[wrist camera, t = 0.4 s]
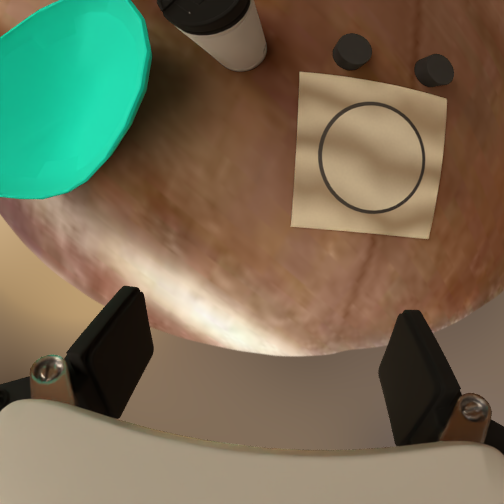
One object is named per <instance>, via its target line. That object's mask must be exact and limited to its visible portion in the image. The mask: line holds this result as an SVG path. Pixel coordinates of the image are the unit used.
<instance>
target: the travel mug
mask: <svg viewBox="0 0 504 504" xmlns="http://www.w3.org/2000/svg"><path fill="white" fill-rule="evenodd" d="M157 4H158V6H159V7H160V9H161V11H162V12H163V15H164V17H165V18H166V19H167V20H168V21H170V22H171V23H172V24H174V25H175V26H176V27H177V28H178V29H179V30H180V31H182V32H183V33H184V34H185V35H187V36H188V37H189V38H190V39H192V40H193V41H194V42H195V43H197V44H198V45H199V46H200V47H202V48H203V49H204V50H205V51H207V52H208V53H209V54H210V55H211V56H213V57H214V58H215V59H216V60H217V61H218V62H220V63H221V64H222V65H223V66H224V67H226V68H228V69H230V70H232V71H238V72H243V71H248V70H251V69H253V68H255V67H257V66H258V65H259V64H260V63H261V62H262V61H263V60H264V58H265V56H266V53H267V44H266V41H265V37H264V33H263V30H262V26H261V23H260V20H259V16H258V13H257V9H256V6H255V3H254V0H157Z"/></svg>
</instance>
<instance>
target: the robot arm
mask: <svg viewBox="0 0 504 504" xmlns="http://www.w3.org/2000/svg"><path fill="white" fill-rule="evenodd" d="M153 350H154V347H153V342H152V337H151V332H150V326H149V321H148V315H147V310H146V304H145V298H144V294H143V292H140V290H139V288H137V287H130V286H123V287H122V288H121V289H120V290H119V291H118V292H117V293H116V295H115V296H114V297H113V298H112V299H111V300H110V301H109V302H108V304H107V305H106V306H105V307H104V308H103V310H101V312H100V313H99V314H98V315H97V316H96V318H95V319H94V320H93V321H92V322H91V323H90V325H89V326H88V327H87V328H86V329H85V330H84V332H83V333H82V334H81V335H80V337H79V338H78V339H77V340H76V341H75V343H74V344H73V345H72V346H71V347H70V349H69V350H68V351H67V356H66V357H65V358H64V359H63V358H62V357H60V356H57V355H47V356H44V357H41V358H40V359H38V360H37V361H36V362H35V363H34V364H33V365H32V367H31V369H30V376H29V377H25V378H22V379H18V380H15V381H11V382H8V383H4V384H0V504H504V427H503V426H502V425H500V424H498V423H496V422H495V421H493V420H491V414H492V411H491V407H490V405H489V403H488V402H487V401H486V400H485V399H484V398H483V397H481V396H480V395H478V394H474V393H467V394H464V395H462V394H461V392H460V389H461V388H460V386H459V384H458V382H457V380H456V378H455V376H454V374H453V371H452V369H451V367H450V365H449V363H448V361H447V359H446V357H445V356H444V354H443V352H442V350H441V348H440V346H439V344H438V342H437V340H436V338H435V337H434V335H433V333H432V331H431V329H430V327H429V326H428V324H427V322H426V320H425V319H424V317H423V315H422V313H421V312H420V311H419V310H404V312H403V313H402V314H399V315H398V318H397V321H396V324H395V327H394V329H393V332H392V335H391V338H390V341H389V343H388V346H387V349H386V351H385V354H384V356H383V359H382V361H381V364H380V367H379V378H380V382H381V386H382V390H383V394H384V398H385V402H386V406H387V410H388V414H389V418H390V423H391V427H392V432H393V436H394V441H395V444H396V447H385V448H371V449H353V450H297V449H277V448H265V447H254V446H245V445H237V444H229V443H222V442H215V441H209V440H203V439H197V438H192V437H187V436H182V435H177V434H172V433H168V432H164V431H160V430H155V429H151V428H147V427H144V426H140V425H136V424H132V423H129V422H125V421H122V420H118V418H120V416H121V415H122V412H123V411H124V409H125V406H126V405H127V402H128V401H129V399H130V397H131V395H132V393H133V391H134V389H135V387H136V385H137V383H138V382H139V380H140V378H141V376H142V374H143V372H144V370H145V368H146V366H147V364H148V363H149V360H150V359H151V357H152V355H153Z"/></svg>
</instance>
